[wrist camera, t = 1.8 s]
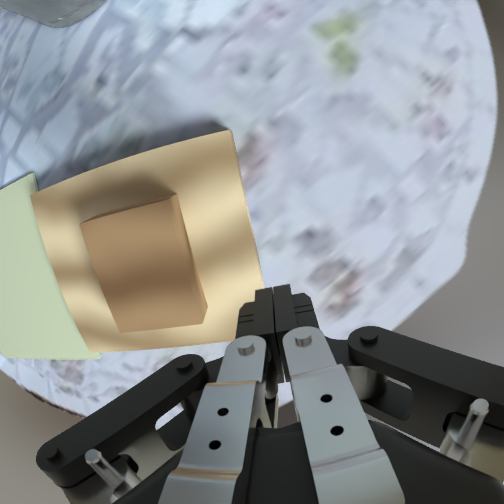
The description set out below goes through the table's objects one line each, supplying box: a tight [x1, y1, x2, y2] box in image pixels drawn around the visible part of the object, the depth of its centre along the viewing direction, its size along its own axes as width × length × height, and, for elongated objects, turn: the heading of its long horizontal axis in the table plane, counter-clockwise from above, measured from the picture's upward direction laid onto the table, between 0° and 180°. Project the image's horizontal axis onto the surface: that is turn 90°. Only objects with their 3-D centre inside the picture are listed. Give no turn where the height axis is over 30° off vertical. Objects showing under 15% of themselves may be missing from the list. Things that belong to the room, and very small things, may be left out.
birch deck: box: [30, 130, 265, 353], centre depth 24 cm, size 16×18×2 cm
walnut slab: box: [79, 194, 208, 333], centre depth 21 cm, size 9×7×2 cm
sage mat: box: [0, 172, 102, 359], centre depth 26 cm, size 20×19×1 cm
